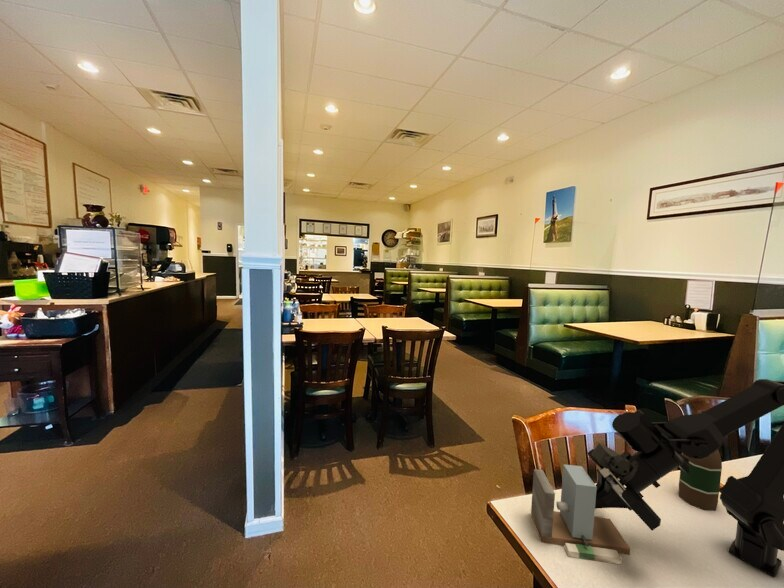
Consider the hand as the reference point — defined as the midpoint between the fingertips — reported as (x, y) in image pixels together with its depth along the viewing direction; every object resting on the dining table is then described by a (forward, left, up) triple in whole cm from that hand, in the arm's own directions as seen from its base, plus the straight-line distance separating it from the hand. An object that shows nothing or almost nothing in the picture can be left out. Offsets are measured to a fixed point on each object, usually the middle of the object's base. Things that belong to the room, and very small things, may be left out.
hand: (587, 505), depth 70 cm
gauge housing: (+2, 0, -7) cm, 7 cm away
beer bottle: (-37, +9, -7) cm, 39 cm away
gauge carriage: (+3, -1, -5) cm, 6 cm away
